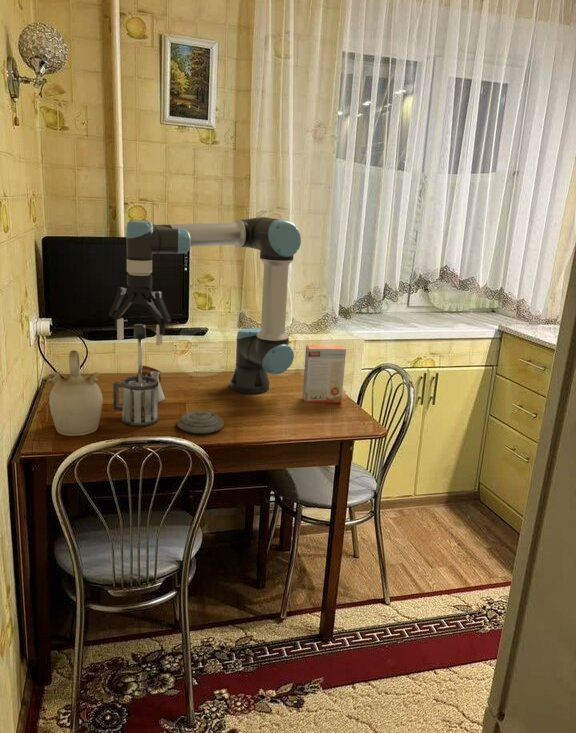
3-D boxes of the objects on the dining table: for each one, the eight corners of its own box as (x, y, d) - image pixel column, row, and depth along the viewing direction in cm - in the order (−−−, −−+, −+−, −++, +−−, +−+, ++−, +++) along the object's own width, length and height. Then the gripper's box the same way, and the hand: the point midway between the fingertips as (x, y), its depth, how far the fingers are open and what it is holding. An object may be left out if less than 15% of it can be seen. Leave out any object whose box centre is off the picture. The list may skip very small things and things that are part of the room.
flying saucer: (174, 419, 199) (174, 404, 197) (219, 418, 203) (219, 402, 201) (179, 438, 185) (179, 421, 183) (227, 435, 189) (228, 419, 188)
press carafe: (164, 416, 200) (164, 378, 197) (148, 428, 190) (148, 389, 186) (123, 409, 204) (123, 372, 200) (105, 421, 193) (105, 382, 189)
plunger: (157, 386, 196) (158, 324, 190) (146, 394, 188) (146, 329, 182) (134, 383, 198) (133, 321, 192) (121, 391, 190) (120, 326, 184)
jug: (41, 436, 179) (37, 355, 172) (63, 417, 194) (59, 342, 186) (92, 441, 178) (90, 360, 171) (110, 421, 193) (108, 346, 186)
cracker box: (337, 397, 230) (343, 344, 224) (341, 403, 224) (347, 349, 218) (301, 397, 227) (305, 343, 221) (304, 403, 222) (309, 348, 216)
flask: (149, 395, 219) (149, 368, 216) (168, 397, 218) (168, 371, 215) (140, 401, 212) (140, 374, 209) (160, 404, 211) (160, 377, 208)
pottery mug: (129, 383, 231) (137, 363, 232) (151, 392, 235) (158, 372, 237) (140, 385, 220) (148, 364, 222) (162, 394, 225) (170, 373, 227)
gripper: (182, 276, 183) (181, 344, 190) (108, 268, 189) (110, 334, 195) (172, 279, 176) (171, 349, 183) (96, 270, 182) (97, 339, 188)
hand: (139, 342), depth 189 cm, fingers open, 12 cm apart
